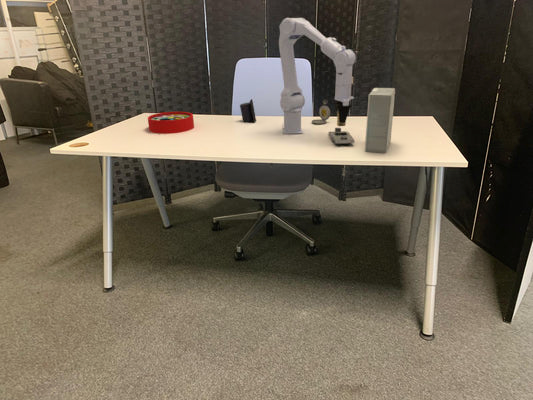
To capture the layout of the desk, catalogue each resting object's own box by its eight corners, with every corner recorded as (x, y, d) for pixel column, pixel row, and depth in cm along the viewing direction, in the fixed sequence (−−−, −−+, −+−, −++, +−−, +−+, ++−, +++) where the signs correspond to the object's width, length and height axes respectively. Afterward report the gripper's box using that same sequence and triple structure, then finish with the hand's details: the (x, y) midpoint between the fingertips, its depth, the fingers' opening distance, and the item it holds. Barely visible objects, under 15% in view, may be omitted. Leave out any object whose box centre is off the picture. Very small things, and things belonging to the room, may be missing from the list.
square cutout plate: (328, 134, 161) (328, 127, 160) (345, 134, 161) (345, 126, 160) (335, 146, 145) (335, 138, 144) (354, 146, 145) (354, 138, 144)
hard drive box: (370, 140, 152) (374, 87, 144) (390, 142, 149) (396, 88, 141) (363, 151, 139) (368, 93, 131) (386, 153, 136) (392, 94, 128)
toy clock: (188, 110, 188) (196, 118, 171) (190, 122, 190) (198, 131, 173) (145, 114, 182) (149, 122, 165) (147, 126, 184) (151, 136, 167)
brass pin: (336, 124, 152) (337, 108, 150) (344, 124, 152) (345, 108, 150) (337, 126, 149) (338, 110, 147) (346, 126, 149) (346, 110, 147)
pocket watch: (310, 124, 179) (310, 102, 175) (314, 120, 187) (314, 99, 182) (327, 125, 177) (328, 102, 173) (331, 121, 184) (332, 99, 180)
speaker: (260, 120, 189) (257, 98, 185) (254, 123, 184) (251, 101, 180) (246, 120, 192) (243, 99, 188) (240, 123, 188) (237, 101, 184)
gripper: (358, 87, 138) (355, 125, 144) (350, 82, 151) (348, 117, 157) (338, 87, 138) (336, 126, 144) (332, 82, 152) (330, 117, 157)
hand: (341, 121), depth 150 cm, fingers closed on brass pin, 3 cm apart
